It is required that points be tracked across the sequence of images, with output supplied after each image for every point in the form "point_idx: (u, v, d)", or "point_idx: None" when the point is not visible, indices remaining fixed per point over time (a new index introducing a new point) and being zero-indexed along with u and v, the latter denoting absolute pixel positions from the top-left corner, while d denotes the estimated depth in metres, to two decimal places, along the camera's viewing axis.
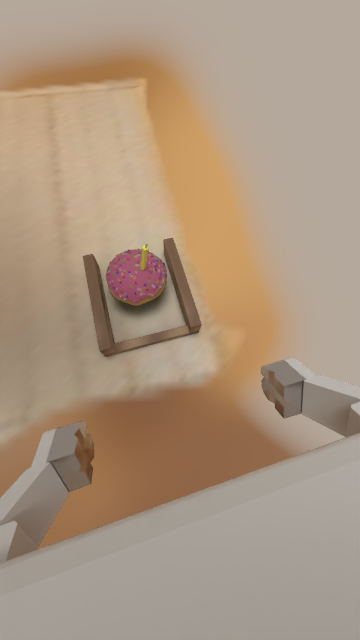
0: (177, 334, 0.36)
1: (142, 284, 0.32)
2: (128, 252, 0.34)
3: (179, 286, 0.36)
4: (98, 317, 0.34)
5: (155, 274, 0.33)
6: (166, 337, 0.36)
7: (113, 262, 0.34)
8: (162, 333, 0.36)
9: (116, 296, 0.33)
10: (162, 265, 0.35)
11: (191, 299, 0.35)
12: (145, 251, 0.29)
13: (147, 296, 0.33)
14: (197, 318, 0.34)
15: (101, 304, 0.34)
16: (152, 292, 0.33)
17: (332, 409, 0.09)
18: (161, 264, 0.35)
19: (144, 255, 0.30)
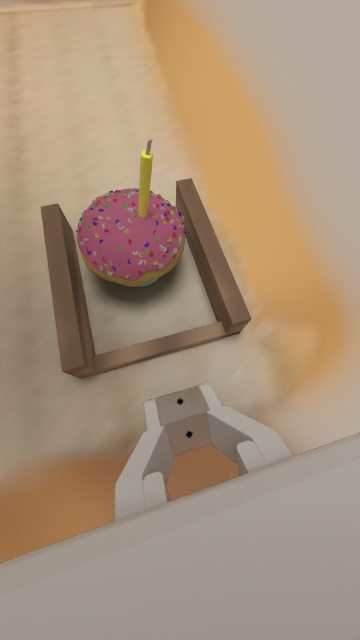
0: (204, 337, 0.21)
1: (142, 243, 0.17)
2: (116, 191, 0.19)
3: (207, 253, 0.20)
4: (63, 308, 0.18)
5: (165, 227, 0.18)
6: (186, 343, 0.20)
7: (89, 208, 0.19)
8: (178, 336, 0.20)
9: (94, 269, 0.18)
10: (177, 214, 0.19)
11: (229, 275, 0.20)
12: (146, 163, 0.14)
13: (151, 267, 0.18)
14: (243, 308, 0.19)
15: (69, 285, 0.19)
16: (161, 259, 0.18)
17: (232, 443, 0.09)
18: (175, 212, 0.19)
19: (145, 176, 0.14)
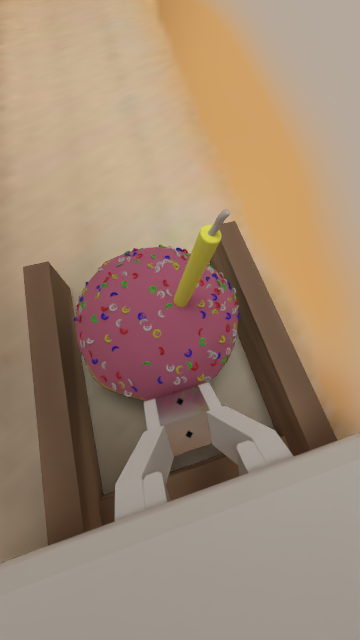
0: None
1: (182, 352, 0.10)
2: (135, 255, 0.13)
3: (267, 341, 0.14)
4: (53, 443, 0.12)
5: (216, 318, 0.11)
6: (236, 475, 0.14)
7: (94, 284, 0.12)
8: (224, 462, 0.14)
9: (103, 384, 0.11)
10: (227, 288, 0.13)
11: (303, 378, 0.13)
12: (209, 249, 0.07)
13: (193, 385, 0.11)
14: (330, 437, 0.12)
15: (63, 401, 0.12)
16: (209, 370, 0.11)
17: (232, 443, 0.09)
18: (225, 286, 0.13)
19: (200, 265, 0.08)
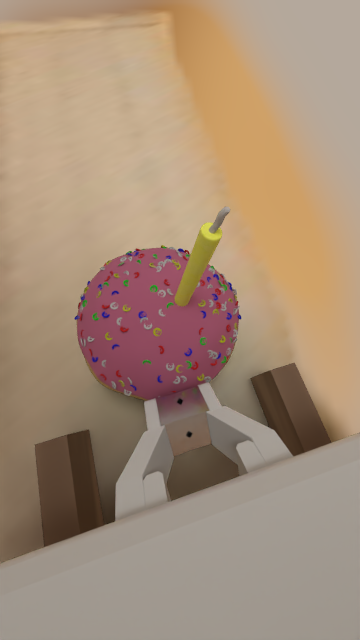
0: None
1: (182, 351, 0.10)
2: (137, 255, 0.13)
3: None
4: None
5: (216, 318, 0.11)
6: None
7: (95, 283, 0.12)
8: None
9: (102, 382, 0.11)
10: (228, 289, 0.13)
11: None
12: (210, 246, 0.07)
13: (193, 384, 0.11)
14: None
15: None
16: (209, 370, 0.11)
17: (232, 443, 0.09)
18: (226, 287, 0.13)
19: (200, 262, 0.08)
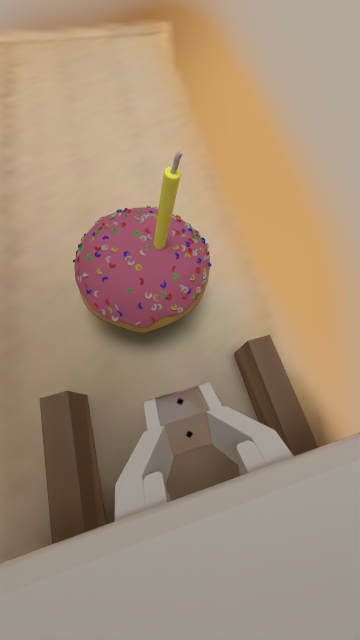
0: None
1: (158, 283, 0.13)
2: (125, 211, 0.15)
3: None
4: None
5: (187, 260, 0.14)
6: None
7: (90, 232, 0.15)
8: None
9: (95, 311, 0.14)
10: (201, 242, 0.15)
11: None
12: (171, 185, 0.10)
13: (168, 313, 0.14)
14: None
15: None
16: (181, 302, 0.14)
17: (232, 443, 0.09)
18: None
19: (167, 201, 0.10)
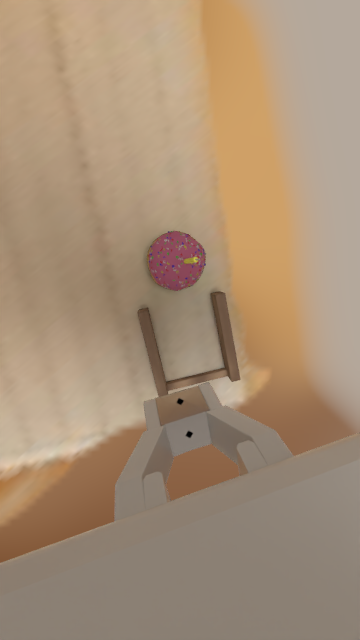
0: (217, 377, 0.44)
1: (184, 277, 0.35)
2: (170, 238, 0.34)
3: (226, 345, 0.40)
4: (157, 373, 0.40)
5: (196, 267, 0.35)
6: (208, 379, 0.44)
7: (156, 250, 0.34)
8: (205, 376, 0.44)
9: (158, 283, 0.36)
10: (202, 254, 0.35)
11: (235, 358, 0.41)
12: (195, 262, 0.30)
13: (186, 286, 0.36)
14: (237, 374, 0.41)
15: (158, 361, 0.40)
16: (191, 282, 0.36)
17: (232, 443, 0.09)
18: (201, 253, 0.35)
19: (192, 262, 0.31)
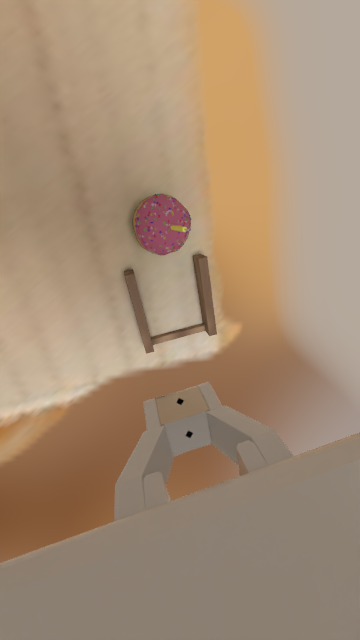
0: (196, 332, 0.49)
1: (170, 243, 0.36)
2: (157, 203, 0.34)
3: (206, 305, 0.45)
4: (143, 330, 0.44)
5: (182, 233, 0.36)
6: (188, 334, 0.49)
7: (143, 214, 0.34)
8: (186, 331, 0.49)
9: (144, 248, 0.37)
10: (188, 219, 0.36)
11: (213, 315, 0.46)
12: (183, 231, 0.32)
13: (172, 251, 0.38)
14: (214, 330, 0.47)
15: (145, 321, 0.43)
16: (177, 248, 0.38)
17: (232, 443, 0.09)
18: (187, 218, 0.36)
19: (180, 231, 0.32)
